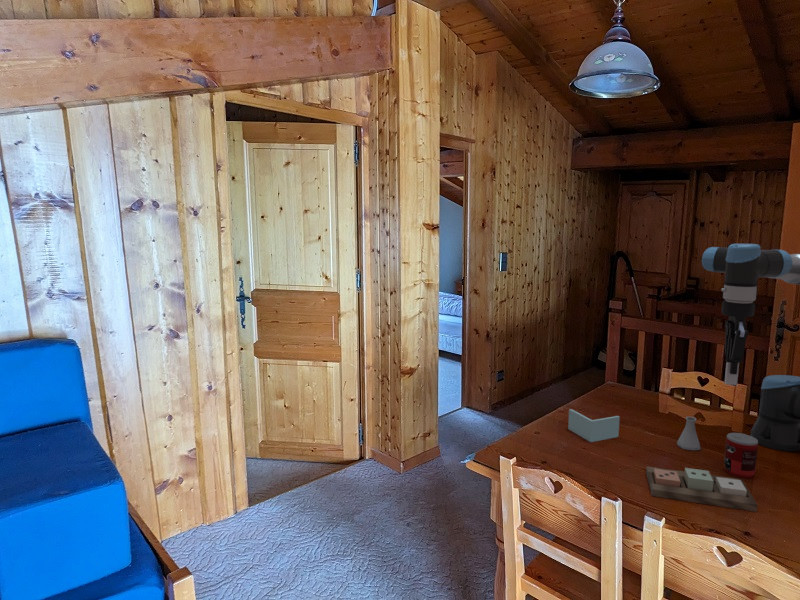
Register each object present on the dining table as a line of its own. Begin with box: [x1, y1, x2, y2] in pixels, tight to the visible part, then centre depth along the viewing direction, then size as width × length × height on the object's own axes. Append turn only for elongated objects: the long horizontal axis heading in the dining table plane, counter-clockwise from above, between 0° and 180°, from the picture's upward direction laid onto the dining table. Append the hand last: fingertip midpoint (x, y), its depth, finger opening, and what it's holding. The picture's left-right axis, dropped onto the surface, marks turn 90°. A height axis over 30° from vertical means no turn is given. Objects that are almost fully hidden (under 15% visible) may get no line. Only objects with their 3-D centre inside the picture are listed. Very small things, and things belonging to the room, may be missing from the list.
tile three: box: [653, 467, 680, 487], centre depth 149 cm, size 6×6×3 cm
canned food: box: [723, 432, 759, 479], centre depth 156 cm, size 8×8×11 cm
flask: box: [676, 416, 701, 451], centre depth 174 cm, size 7×7×10 cm
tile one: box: [715, 477, 747, 497], centre depth 144 cm, size 6×6×3 cm
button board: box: [645, 465, 758, 513], centre depth 147 cm, size 25×14×2 cm, turn 71°
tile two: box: [684, 467, 713, 492], centre depth 146 cm, size 6×6×3 cm
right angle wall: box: [567, 408, 621, 443], centre depth 186 cm, size 12×12×8 cm
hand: (730, 383), depth 145 cm, fingers closed
